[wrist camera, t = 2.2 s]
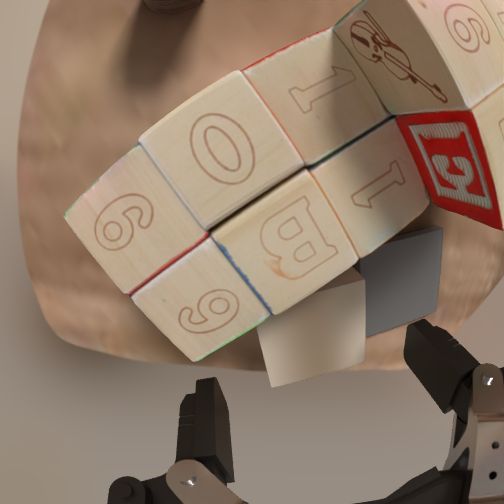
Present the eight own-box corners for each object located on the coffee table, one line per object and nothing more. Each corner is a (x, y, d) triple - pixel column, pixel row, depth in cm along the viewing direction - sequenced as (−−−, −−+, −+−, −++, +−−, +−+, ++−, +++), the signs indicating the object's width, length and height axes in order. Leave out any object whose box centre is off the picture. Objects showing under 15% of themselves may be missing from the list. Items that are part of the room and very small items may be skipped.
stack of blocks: (205, 260, 17) (182, 443, 6) (141, 176, 15) (-15, 248, 4) (455, 98, 15) (595, 101, 3) (414, 23, 13) (542, -23, 1)
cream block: (323, 237, 17) (365, 279, 12) (330, 306, 19) (364, 362, 14) (242, 255, 17) (251, 307, 12) (258, 323, 19) (271, 387, 14)
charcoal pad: (436, 225, 18) (442, 228, 17) (430, 306, 20) (435, 311, 20) (354, 246, 18) (359, 250, 17) (357, 332, 20) (361, 338, 19)
